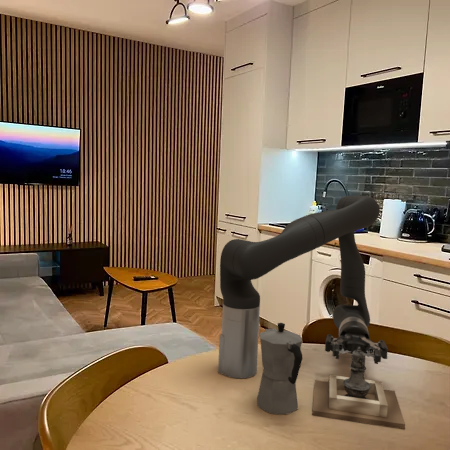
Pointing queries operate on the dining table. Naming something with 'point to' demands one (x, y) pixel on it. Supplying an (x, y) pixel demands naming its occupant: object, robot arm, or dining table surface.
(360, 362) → the salt shaker
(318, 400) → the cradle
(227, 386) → the dining table surface
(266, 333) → the coffeepot
